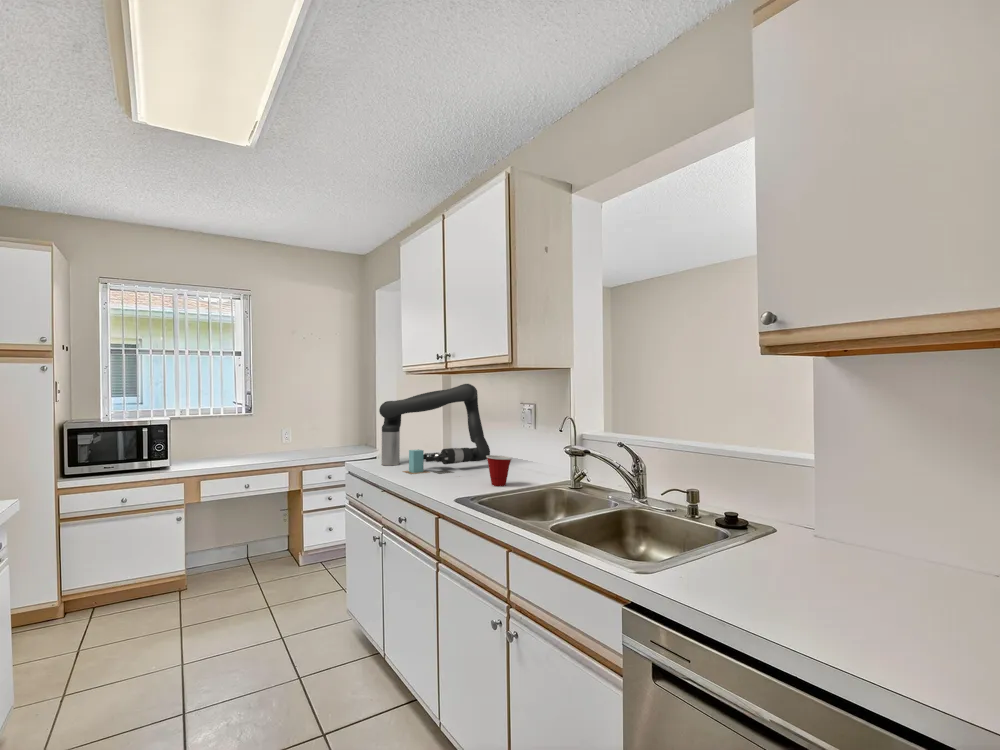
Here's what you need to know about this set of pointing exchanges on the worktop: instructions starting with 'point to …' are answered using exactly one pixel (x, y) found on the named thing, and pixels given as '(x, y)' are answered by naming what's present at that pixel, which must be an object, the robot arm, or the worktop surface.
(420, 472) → the walnut base
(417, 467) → the teal block
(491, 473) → the plastic cup
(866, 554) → the worktop surface
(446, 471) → the coaster mat
